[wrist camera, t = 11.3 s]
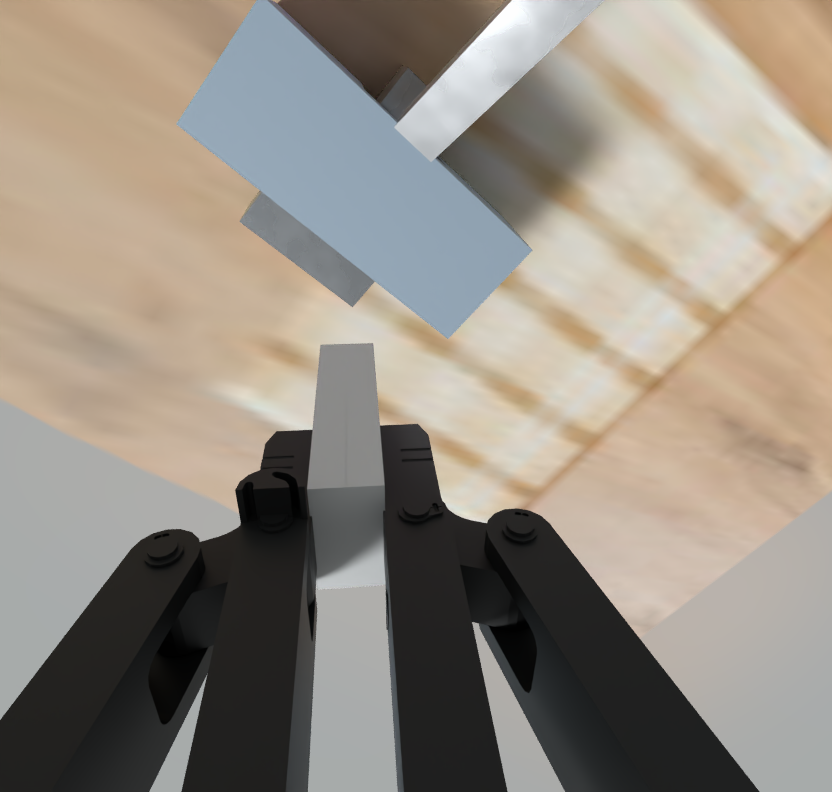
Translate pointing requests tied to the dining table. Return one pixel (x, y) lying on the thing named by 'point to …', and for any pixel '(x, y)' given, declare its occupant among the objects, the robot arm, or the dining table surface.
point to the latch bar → (487, 69)
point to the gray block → (306, 244)
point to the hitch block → (350, 170)
